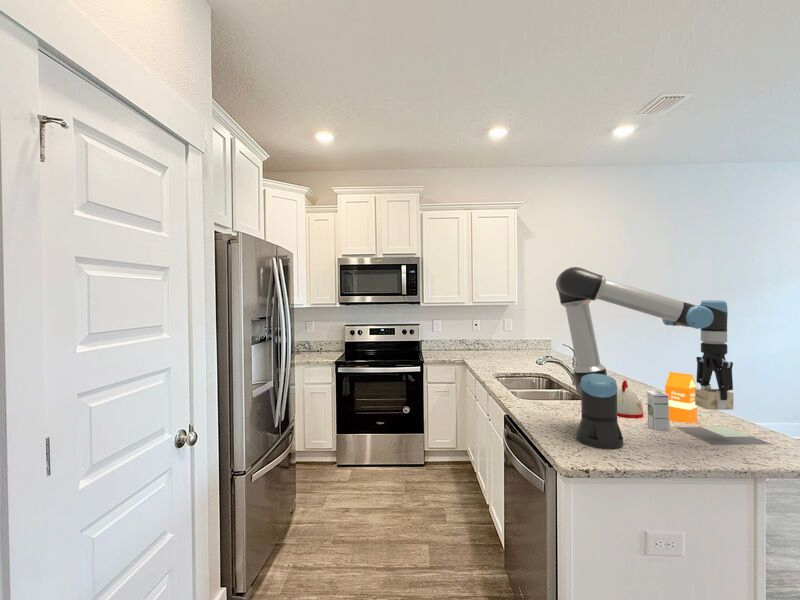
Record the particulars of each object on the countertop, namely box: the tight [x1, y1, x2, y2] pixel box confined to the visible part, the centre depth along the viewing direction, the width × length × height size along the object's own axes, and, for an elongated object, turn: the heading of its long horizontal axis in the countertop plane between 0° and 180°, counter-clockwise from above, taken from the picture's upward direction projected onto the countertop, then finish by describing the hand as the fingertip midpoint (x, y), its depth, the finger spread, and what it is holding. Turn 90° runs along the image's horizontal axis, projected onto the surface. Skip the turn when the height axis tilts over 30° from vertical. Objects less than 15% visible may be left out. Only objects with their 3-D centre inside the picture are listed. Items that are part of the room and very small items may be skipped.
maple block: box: [695, 388, 734, 411], centre depth 140 cm, size 9×6×6 cm, turn 90°
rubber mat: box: [673, 426, 772, 446], centre depth 144 cm, size 21×19×1 cm
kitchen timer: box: [617, 379, 644, 419], centre depth 174 cm, size 14×14×15 cm
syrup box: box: [646, 390, 671, 431], centre depth 153 cm, size 6×6×14 cm
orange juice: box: [664, 371, 698, 424], centre depth 164 cm, size 8×9×20 cm
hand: (713, 406), depth 140 cm, fingers closed on maple block, 6 cm apart
